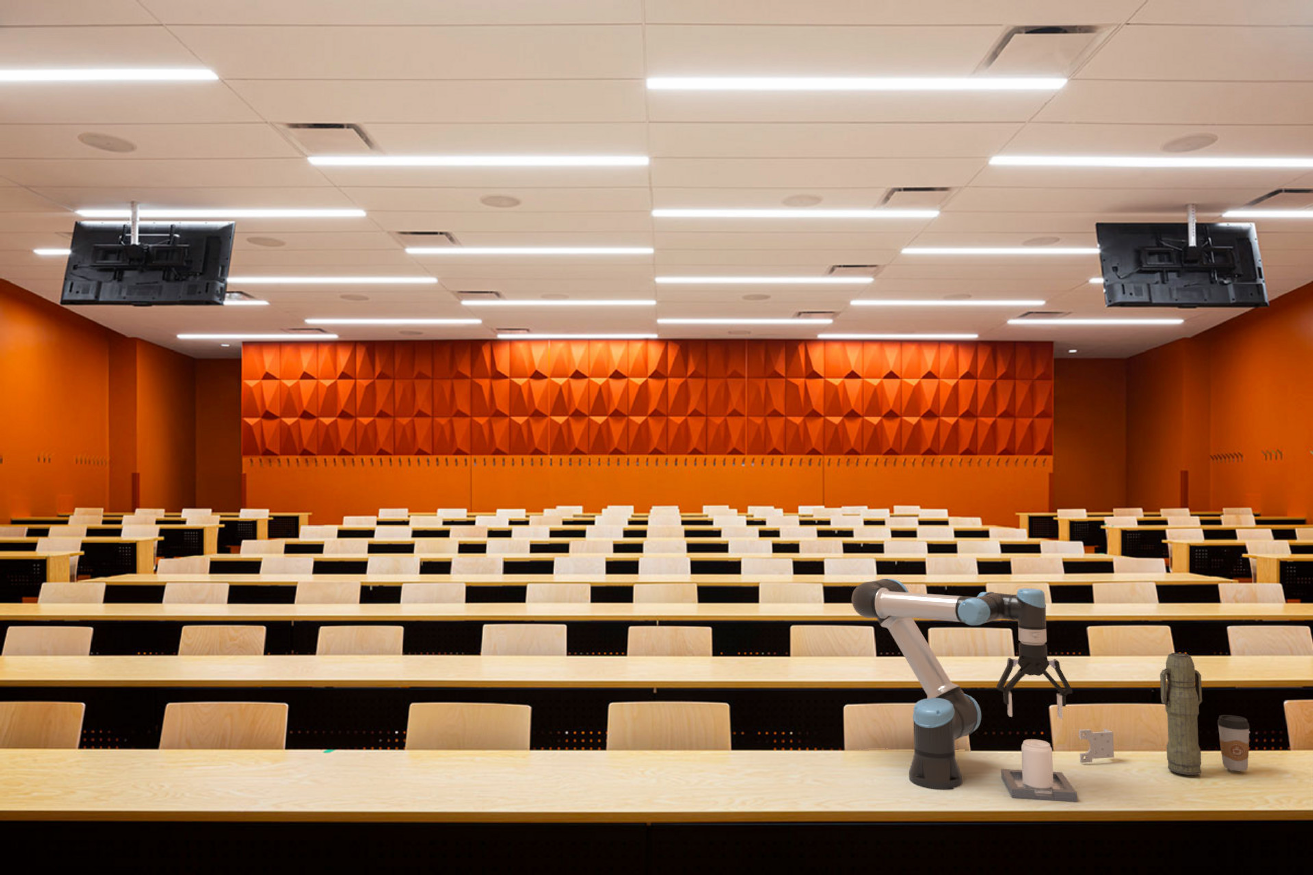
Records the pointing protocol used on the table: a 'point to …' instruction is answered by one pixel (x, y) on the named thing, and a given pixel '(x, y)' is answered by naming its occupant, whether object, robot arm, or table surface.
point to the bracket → (1097, 745)
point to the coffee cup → (1234, 741)
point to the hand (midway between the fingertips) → (1034, 716)
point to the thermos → (1182, 713)
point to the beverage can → (1037, 764)
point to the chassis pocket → (1020, 790)
